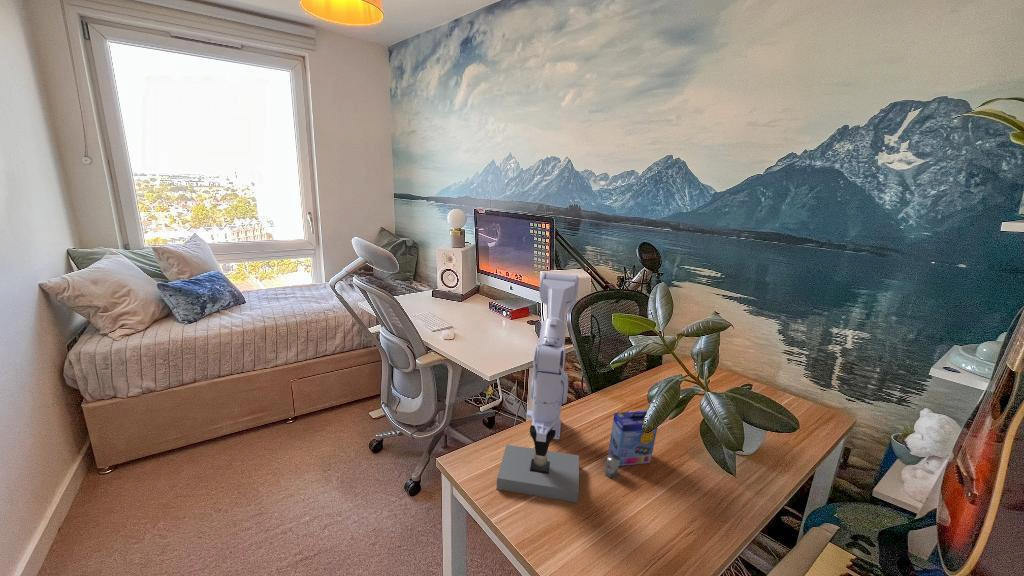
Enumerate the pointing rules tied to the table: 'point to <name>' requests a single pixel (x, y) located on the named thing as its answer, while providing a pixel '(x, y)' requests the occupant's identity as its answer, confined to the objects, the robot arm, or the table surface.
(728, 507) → the table surface
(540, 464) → the birch pin
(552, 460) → the hole plate
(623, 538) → the table surface
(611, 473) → the short steel pin
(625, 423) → the ink cartridge box
